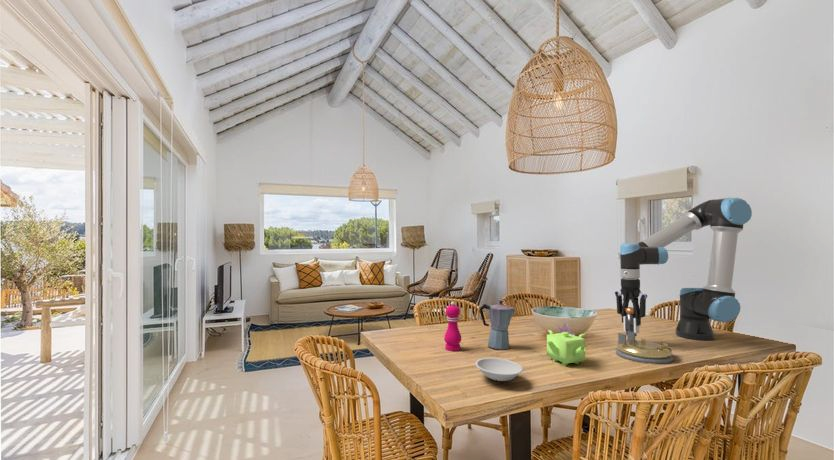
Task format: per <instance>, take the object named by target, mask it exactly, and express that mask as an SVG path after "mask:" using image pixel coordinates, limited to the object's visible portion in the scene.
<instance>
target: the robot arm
mask: <svg viewBox="0 0 834 460" xmlns="http://www.w3.org/2000/svg"><path fill="white" fill-rule="evenodd" d="M752 214H753V212H752V208H751V206H750V204H749V203H748V202H747V201H746V200H744V199H743V198H739V197H725V198H719V199H717V198H716V199H709V200H706V201H703V202H702V203H699V204H697V205H696V206H694V207H693V208H691V209H689V210H687V211H686V212H685V213H683V216H682V217H680V218H678V219H677V220H675V221H673V222H672V223H670V224H668V225H667V226H665V227H663V228H661V229H660V230H658V231H657V232H655V233H653V234H651V235H650V236H648V237H646V238H645V239H643V240H641V241H640V242H637V243H636V242H631V243H629V242H627V243H626V242H625V243H624V242H623V243H621V244H620V249H619V255H620V256H619V257H620V258H619V259H620V260H619V263H620V277H621V279H620V287H621V288H620V290H618V291H614V294H615V299H616V313H617V314H618V315H620V316H621V323H623V332H626V313H625V308H626V307H629V304H630V301H631V303H632V307H633V308H634V312H635V318H634V332H635V333H637V334H638V333H639V334H640V327H641V325H642V318H645V317H646V309H647V308H646V307H647V306H646V305H647V304H646V303H647V301H646V300H647V298H648V295H647V294H646V293H645V294H644V293H642V291H641V280H640V278H641V265H665V264H666V263H667V262H668V260H669V252H668V250H667V248H666V246H669V245H670V244H672V243H674V242H676V241H677V240H679V239H680V238H682V237H684V236H685V235H687V234H689V233H691V232H692V231H694V230H696V231H698V230H700V229H702V228H703V227H707V226H709V227H710V230H712V231H713V236H712V244H711V253H710V261H709V269H708V275H707V276H708V277H707V283H706V285H705V286H702V287H682V288H681V289H680V290H679V320H678V323H677V325H676V327H675V335H676V336H678V337H681V338H685V339H690V340H697V341H710V340H714V339H715V333H714V329H713V327H712V324H711V321H710V320H712V321H714V322H719V323H729V322H732V321H733V320H736V318H737V317H738V316H739V314H740V312H741V303H740V302H739V300H738V299H737V298H736V291H735V290H734V289H733V288H732V286H733V277H734V269H735V261H736V252H737V243H738V235H739V233H740V232H742V231H743V230H744V225H746V224H747V223H748V222H749V221H751V218H752V216H753V215H752Z"/></svg>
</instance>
